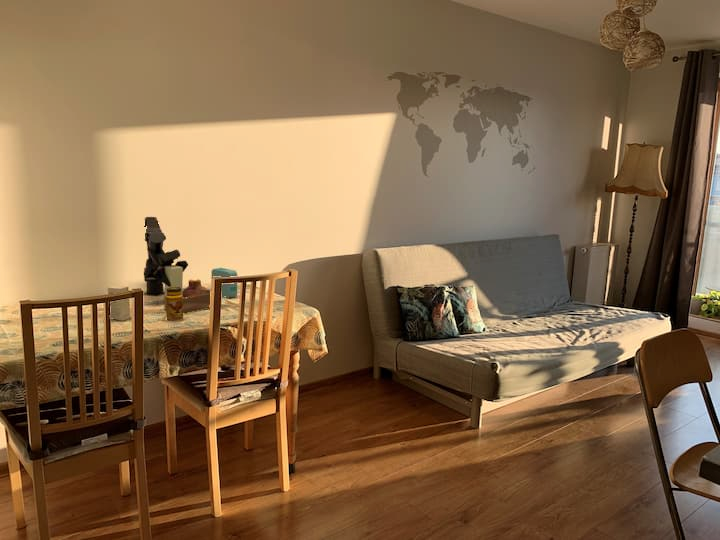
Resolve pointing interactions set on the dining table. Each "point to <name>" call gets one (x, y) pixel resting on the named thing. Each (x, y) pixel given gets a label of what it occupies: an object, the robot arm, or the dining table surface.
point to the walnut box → (195, 301)
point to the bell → (192, 288)
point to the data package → (227, 289)
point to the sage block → (174, 277)
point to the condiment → (174, 305)
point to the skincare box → (119, 304)
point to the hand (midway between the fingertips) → (175, 285)
